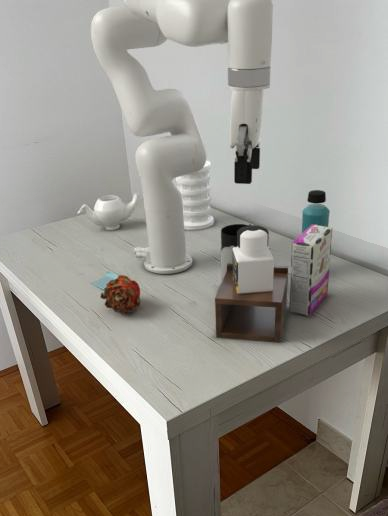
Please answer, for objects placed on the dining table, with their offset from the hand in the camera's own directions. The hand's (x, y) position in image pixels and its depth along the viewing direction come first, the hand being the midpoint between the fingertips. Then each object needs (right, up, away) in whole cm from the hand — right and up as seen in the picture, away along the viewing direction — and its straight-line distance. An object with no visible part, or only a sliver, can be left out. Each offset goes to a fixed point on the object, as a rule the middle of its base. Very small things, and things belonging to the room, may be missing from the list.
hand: (247, 175), depth 106 cm
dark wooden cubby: (+2, -28, +10) cm, 30 cm away
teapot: (-36, +3, +64) cm, 73 cm away
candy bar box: (+15, -24, +16) cm, 32 cm away
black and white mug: (+1, -19, +25) cm, 31 cm away
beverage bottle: (+19, -15, +30) cm, 38 cm away
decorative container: (-10, +5, +63) cm, 64 cm away
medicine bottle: (+1, -21, +5) cm, 22 cm away
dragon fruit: (-26, -25, +18) cm, 41 cm away
